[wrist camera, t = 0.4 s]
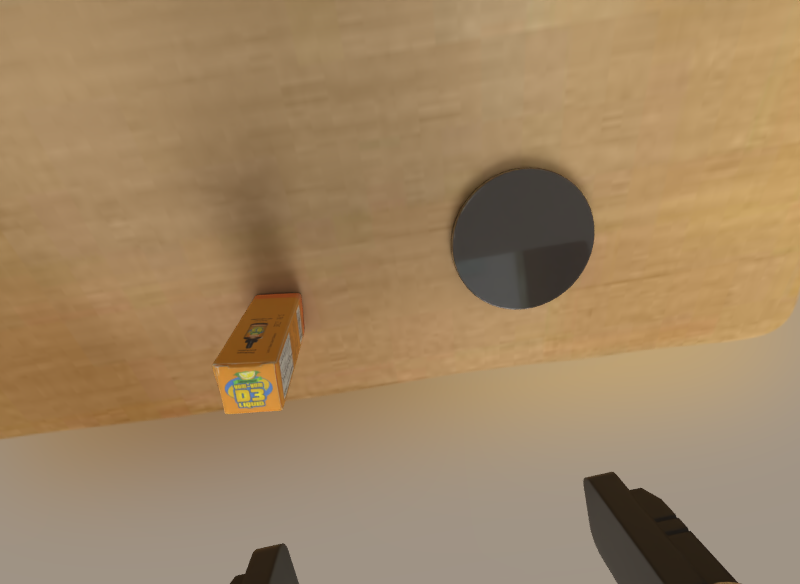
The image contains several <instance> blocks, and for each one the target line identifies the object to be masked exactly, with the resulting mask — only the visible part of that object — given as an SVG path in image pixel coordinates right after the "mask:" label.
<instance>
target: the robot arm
mask: <svg viewBox="0 0 800 584" xmlns="http://www.w3.org/2000/svg"><path fill="white" fill-rule="evenodd" d="M584 491H585V497H586V503H587V510H588V516H589V523H590V528H591V533H592V536H593V539H594V542H595V544H596V547H597V549H598V551H599V553H600V555H601V556H602V558H603V560H604V562H605V563H606V565H607V567H608V568H609V570H610V572H611V573H612V575H613V576H614V578H615V580H616V582H617V583H618V584H740V583H738V582H737V581H736V580H735V579H734V578H733V577H732V576H731V575H730V574H729V573H728V571H727V570H726V569H725V568H724V567H723V566H722V565H721V564H720V563H719V562H718V561H717V559H716V558H715V557H714V556H713V555H712V554H711V553H710V552H709V551H708V550H707V548H706V547H705V546H704V545H703V544H702V543H701V542H700V541H699V540H698V539H697V538H696V537H695V535H694V534H693V533H692V532H691V531H688V528H687V527H686V526H685V524H684V523H683V522H682V521H681V520H680V519H679V518H677V517H676V515H675V514H674V513H673V511H672V510H671V509H670V508H669V507H668V506H667V505H666V504H665V503H664V502H663V501H662V499H660V498H658V497H656V496H654V495H653V494H651V493H649V492H648V491H646V490H644V489H642V488H638V489H633V490H629V489H628V488H627V487H626V486H625V484H624V483H623V482H622V481H621V480H620V478H619V477H618V476H617V475H616V474H615V473H614V472H609V473H605V474H600V475H595V476H591V477H587V478H584ZM230 584H299V583H298V580H297V576H296V573H295V570H294V567H293V564H292V561H291V557H290V555H289V551H288V548H287V546H286V545H285V544H278V545H273V546H269V547H264V548H260V549H256V550H255V551H254V552H253V554H252V557H251V559H250V562H249V565H248V568H247V570H246V573H245V574H242V575H238V576H236V577H235V578H234V579H233V580H232V582H231V583H230Z"/></svg>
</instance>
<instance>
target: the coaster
mask: <svg viewBox="0 0 800 584" xmlns="http://www.w3.org/2000/svg"><path fill="white" fill-rule="evenodd" d="M593 243H594V221H593V216H592V212H591V209H590V207H589V204H588V202H587V200H586V199H585V197H584V195H583V194H582V192H581V191H580V190H579V189H578V188H577V187H576V186H575V185H574V184H573V183H572V182H570V181H569V180H568V179H566V178H565V177H563V176H561V175H559V174H557V173H554V172H552V171H548V170H544V169H539V168H518V169H513V170H509V171H506V172H503V173H500V174H498V175H496V176H494V177H492V178H490V179H489V180H487V181H485V182H484V183H483V184H482V185H480V186H479V187H478V188H477V189H476V190H475V191H474V192H473V193H472V194H471V195H470V196H469V197H468V199H467V200H466V201H465V203H464V204H463V206H462V208H461V209H460V211H459V213H458V216H457V218H456V220H455V224H454V227H453V232H452V239H451V250H452V257H453V261H454V265H455V268H456V270H457V272H458V275H459V276H460V278H461V280H462V281H463V283H464V284H465V285H466V287H467V288H468V289H469V290H470V291H471V292H472V293H473V294H474V295H475V296H477V297H478V298H480V299H481V300H482V301H484V302H486V303H488V304H491V305H493V306H496V307H500V308H505V309H527V308H533V307H536V306H540V305H543V304H545V303H547V302H550V301H551V300H553V299H555V298H557V297H558V296H560V295H561V294H562V293H564V292H565V291H566V290H567V289H568V288H570V287H571V286H572V285H573V284H574V282H575V281H576V280H577V279H578V278H579V276H580V275H581V273H582V272H583V270H584V268H585V266H586V265H587V263H588V260H589V258H590V255H591V252H592V248H593Z"/></svg>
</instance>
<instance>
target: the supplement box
mask: <svg viewBox="0 0 800 584" xmlns="http://www.w3.org/2000/svg"><path fill="white" fill-rule="evenodd" d="M303 335H304V319H303V308H302V299H301V294H300V293H285V294H268V295H256V296H255V297H254V299H253V301H252V302H251V304H250V305H249V307H248V309H247V310H246V312H245V314H244V315H243V317H242V318H241V320H240V322H239V323H238V325H237V326H236V328H235V330H234V331H233V333H232V334H231V336H230V338H229V339H228V341H227V342H226V344H225V346H224V347H223V349H222V351H221V352H220V354H219V355H218V357H217V358H216V360H215V361H214V363H213V365H212V368H213V371H214V375H215V377H216V381H217V384H218V387H219V390H220V394H221V398H222V402H223V407H224V411H225V413H226V414H236V413H249V412H264V411H279V410H282V409H283V406H284V403H285V400H286V397H287V393H288V389H289V386H290V382H291V379H292V375H293V372H294V368H295V364H296V361H297V358H298V354H299V350H300V346H301V342H302V339H303Z"/></svg>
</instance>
